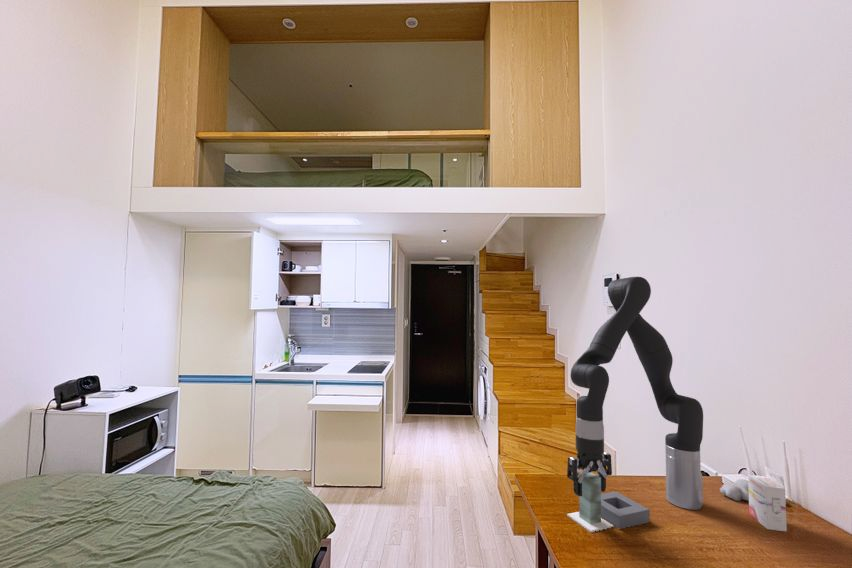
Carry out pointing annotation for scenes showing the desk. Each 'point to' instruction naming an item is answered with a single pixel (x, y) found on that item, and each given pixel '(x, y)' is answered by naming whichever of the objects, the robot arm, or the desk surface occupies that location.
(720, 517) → the desk surface
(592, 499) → the peg
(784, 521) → the ink cartridge box
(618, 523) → the pocket holder
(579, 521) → the mat
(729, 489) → the bunny figurine
